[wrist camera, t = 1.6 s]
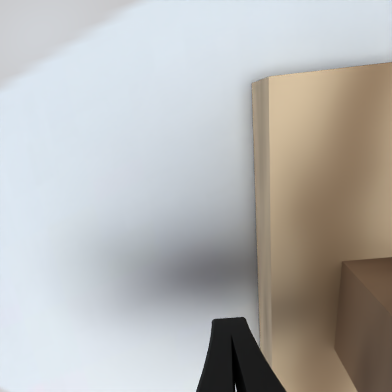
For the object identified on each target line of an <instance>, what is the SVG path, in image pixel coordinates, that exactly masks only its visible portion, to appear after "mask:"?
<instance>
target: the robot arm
mask: <svg viewBox="0 0 392 392" xmlns="http://www.w3.org/2000/svg"><path fill="white" fill-rule="evenodd" d="M235 384H236V389H237V392H287V391H286V390H285V388H284V387H283V385H282V384H281V382H280V381H279V379H278V378H277V376H276V375H275V373H274V372H273V370H272V369H271V367H270V365H269V364H268V362H267V360H266V359H265V357H264V355H263V354H262V352H261V350H260V348H259V347H258V345H257V343H256V341H255V339H254V337H253V335H252V333H251V331H250V329H249V326H248V324H247V321H246V319H245V318H244V317H236V318H223V319H214V320H213V321H212V329H211V337H210V343H209V348H208V352H207V356H206V360H205V364H204V368H203V371H202V374H201V378H200V381H199V384H198V387H197V390H196V392H235Z"/></svg>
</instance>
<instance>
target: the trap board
mask: <svg viewBox="0 0 392 392" xmlns="http://www.w3.org/2000/svg"><path fill="white" fill-rule="evenodd" d="M252 110H253V141H254V172H255V203H256V234H257V265H258V296H259V327H260V350H261V352H262V354H263V355H264V357H265V359H266V360H267V362H268V364H269V365H270V367H271V369H272V370H273V372H274V373H275V375H276V376H277V378H278V379H279V381H280V382H281V384H282V385H283V387H284V388H285V390H286V391H287V392H358V391H357V390H356V388H355V386H354V384H353V382H352V381H351V379H350V377H349V375H348V373H347V371H346V370H345V368H344V366H343V364H342V362H341V361H340V359H339V357H338V355H337V353H336V351H335V350H334V344H335V334H336V323H337V312H338V302H339V291H340V281H341V270H342V261H350V260H362V259H375V258H387V257H392V62H389V63H381V64H372V65H363V66H355V67H346V68H338V69H329V70H320V71H312V72H303V73H295V74H286V75H277V76H269V77H266V78H264V79H261V80H259V81H256V82H254V83H252Z"/></svg>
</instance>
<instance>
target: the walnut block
mask: <svg viewBox="0 0 392 392" xmlns="http://www.w3.org/2000/svg"><path fill="white" fill-rule="evenodd" d="M334 350H335V351H336V353H337V355H338V357H339V359H340V361H341V362H342V364H343V366H344V368H345V370H346V371H347V373H348V375H349V377H350V379H351V381H352V382H353V384H354V386H355V388H356V390H357V391H358V392H392V257H387V258H375V259H362V260H350V261H342V270H341V281H340V291H339V302H338V312H337V323H336V334H335V344H334Z"/></svg>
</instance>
